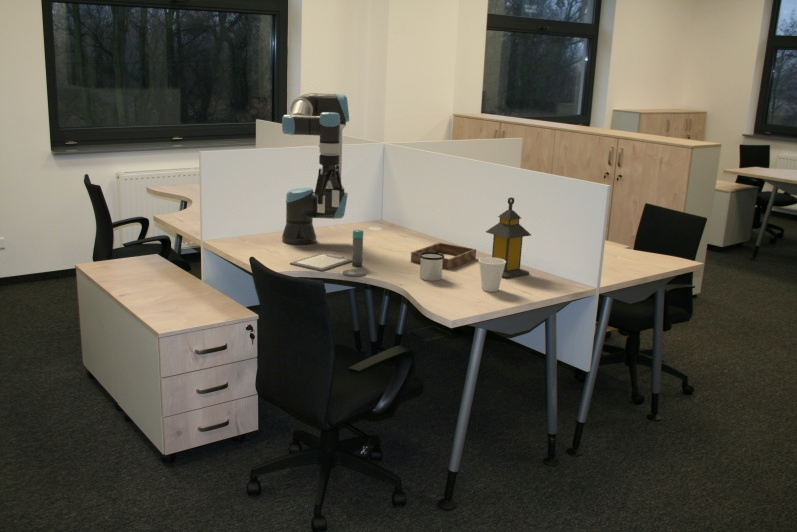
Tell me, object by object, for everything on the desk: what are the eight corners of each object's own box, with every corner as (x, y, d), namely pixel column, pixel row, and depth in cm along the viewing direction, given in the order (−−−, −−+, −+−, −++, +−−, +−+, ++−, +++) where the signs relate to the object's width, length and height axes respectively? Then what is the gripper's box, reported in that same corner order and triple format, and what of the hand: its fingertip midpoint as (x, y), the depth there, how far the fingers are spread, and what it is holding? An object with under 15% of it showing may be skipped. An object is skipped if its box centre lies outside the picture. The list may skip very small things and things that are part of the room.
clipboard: (321, 254, 310) (321, 251, 310) (352, 261, 302) (352, 258, 302) (290, 264, 294) (290, 261, 293) (322, 271, 286) (322, 268, 285)
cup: (474, 285, 276) (476, 256, 273) (500, 286, 277) (502, 257, 274) (479, 293, 266) (481, 264, 263) (506, 294, 267) (509, 264, 264)
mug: (435, 283, 277) (436, 259, 274) (413, 278, 282) (414, 255, 279) (450, 276, 287) (452, 253, 284) (429, 272, 291) (430, 249, 289)
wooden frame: (438, 251, 324) (439, 242, 323) (475, 258, 315) (476, 249, 314) (410, 261, 305) (411, 252, 304) (449, 269, 296) (449, 259, 295)
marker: (355, 263, 299) (356, 229, 295) (364, 265, 297) (365, 231, 293) (349, 265, 295) (350, 231, 292) (358, 267, 293) (359, 232, 290)
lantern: (480, 270, 297) (485, 196, 289) (505, 266, 305) (511, 193, 297) (505, 279, 286) (511, 202, 278) (530, 274, 294) (537, 199, 287)
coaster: (352, 269, 291) (352, 267, 291) (370, 273, 286) (371, 271, 286) (338, 273, 283) (338, 272, 283) (357, 278, 279) (357, 276, 279)
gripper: (333, 150, 294) (332, 203, 300) (305, 156, 271) (305, 213, 277) (351, 152, 292) (349, 205, 297) (324, 158, 269) (323, 216, 274)
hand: (328, 209), depth 287 cm, fingers open, 13 cm apart
